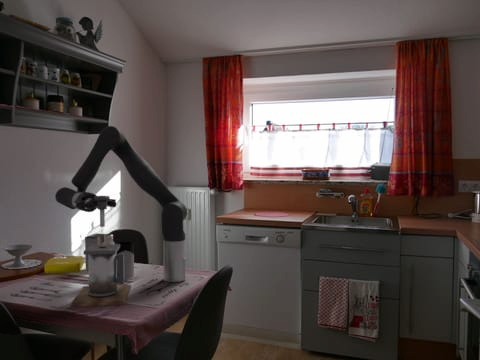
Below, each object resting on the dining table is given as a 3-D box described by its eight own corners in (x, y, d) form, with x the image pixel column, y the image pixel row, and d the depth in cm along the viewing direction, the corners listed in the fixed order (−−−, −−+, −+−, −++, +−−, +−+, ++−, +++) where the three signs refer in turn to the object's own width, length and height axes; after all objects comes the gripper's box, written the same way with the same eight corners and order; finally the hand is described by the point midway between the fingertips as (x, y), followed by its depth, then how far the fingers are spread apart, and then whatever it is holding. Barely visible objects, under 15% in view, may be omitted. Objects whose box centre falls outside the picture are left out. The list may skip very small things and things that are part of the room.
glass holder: (114, 281, 171) (114, 246, 170) (113, 272, 184) (112, 239, 183) (136, 279, 174) (135, 244, 173) (133, 270, 187) (132, 238, 186)
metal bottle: (102, 285, 165) (101, 237, 164) (99, 281, 171) (99, 234, 170) (118, 283, 168) (118, 235, 167) (115, 279, 174) (114, 232, 173)
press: (126, 287, 158) (125, 243, 157) (121, 297, 147) (121, 250, 146) (91, 288, 156) (90, 244, 155) (84, 298, 145) (83, 251, 145)
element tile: (43, 275, 181) (43, 264, 180) (50, 266, 195) (50, 256, 195) (79, 272, 184) (79, 262, 184) (83, 264, 199) (83, 254, 199)
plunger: (110, 225, 153) (110, 195, 153) (108, 227, 148) (108, 197, 147) (96, 225, 153) (96, 195, 152) (93, 227, 147) (93, 197, 147)
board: (130, 288, 162) (130, 284, 162) (124, 304, 144) (124, 300, 144) (83, 290, 159) (83, 286, 159) (71, 306, 142) (71, 302, 142)
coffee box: (96, 266, 194) (95, 233, 193) (108, 267, 193) (108, 233, 192) (85, 271, 185) (84, 236, 184) (97, 272, 184) (97, 237, 183)
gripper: (66, 193, 155) (84, 196, 144) (102, 191, 165) (121, 193, 154) (67, 212, 156) (85, 217, 144) (102, 209, 166) (121, 213, 154)
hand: (104, 205), depth 149 cm, fingers open, 8 cm apart
